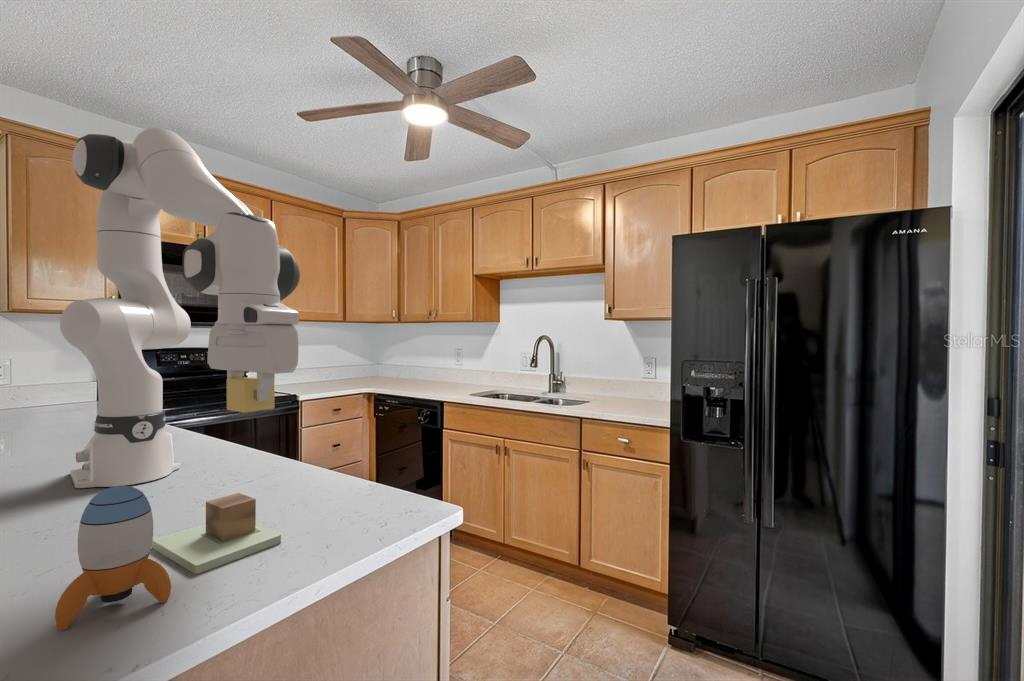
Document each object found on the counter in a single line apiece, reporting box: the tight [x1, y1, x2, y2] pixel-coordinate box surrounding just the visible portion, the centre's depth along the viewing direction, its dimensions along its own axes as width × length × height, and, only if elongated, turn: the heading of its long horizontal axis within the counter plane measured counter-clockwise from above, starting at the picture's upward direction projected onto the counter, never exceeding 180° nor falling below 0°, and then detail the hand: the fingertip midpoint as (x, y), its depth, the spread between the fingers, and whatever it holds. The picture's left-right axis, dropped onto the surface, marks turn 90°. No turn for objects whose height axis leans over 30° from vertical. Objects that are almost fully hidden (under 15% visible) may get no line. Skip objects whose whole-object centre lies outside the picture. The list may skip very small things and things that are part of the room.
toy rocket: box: [54, 485, 172, 632], centre depth 58 cm, size 10×11×15 cm
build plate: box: [151, 523, 282, 575], centre depth 74 cm, size 14×12×1 cm
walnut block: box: [205, 492, 257, 542], centre depth 75 cm, size 5×5×5 cm
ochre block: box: [226, 376, 276, 414], centre depth 78 cm, size 5×5×5 cm
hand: (250, 399), depth 78 cm, fingers closed on ochre block, 5 cm apart
